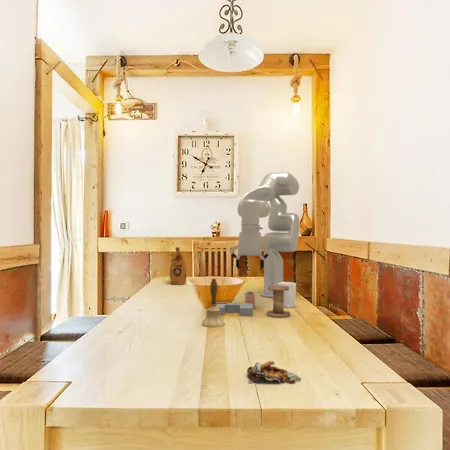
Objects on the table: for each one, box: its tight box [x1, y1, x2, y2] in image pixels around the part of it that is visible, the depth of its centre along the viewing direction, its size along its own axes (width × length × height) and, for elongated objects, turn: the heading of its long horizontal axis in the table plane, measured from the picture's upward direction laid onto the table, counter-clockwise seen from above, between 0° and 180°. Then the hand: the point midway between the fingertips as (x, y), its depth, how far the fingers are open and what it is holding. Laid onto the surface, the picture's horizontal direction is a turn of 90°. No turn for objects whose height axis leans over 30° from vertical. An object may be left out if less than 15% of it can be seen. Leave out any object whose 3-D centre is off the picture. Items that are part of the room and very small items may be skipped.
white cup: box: [278, 281, 297, 309], centre depth 167 cm, size 8×8×10 cm
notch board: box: [216, 302, 254, 317], centre depth 153 cm, size 16×10×3 cm, turn 87°
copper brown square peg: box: [244, 291, 256, 310], centre depth 163 cm, size 4×4×7 cm
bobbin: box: [266, 285, 291, 319], centre depth 150 cm, size 9×9×11 cm
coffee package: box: [169, 246, 187, 286], centre depth 232 cm, size 10×12×22 cm
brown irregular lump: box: [246, 360, 302, 385], centre depth 87 cm, size 7×12×4 cm, turn 89°
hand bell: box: [201, 278, 226, 328], centre depth 135 cm, size 8×8×16 cm
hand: (249, 269), depth 162 cm, fingers open, 9 cm apart
